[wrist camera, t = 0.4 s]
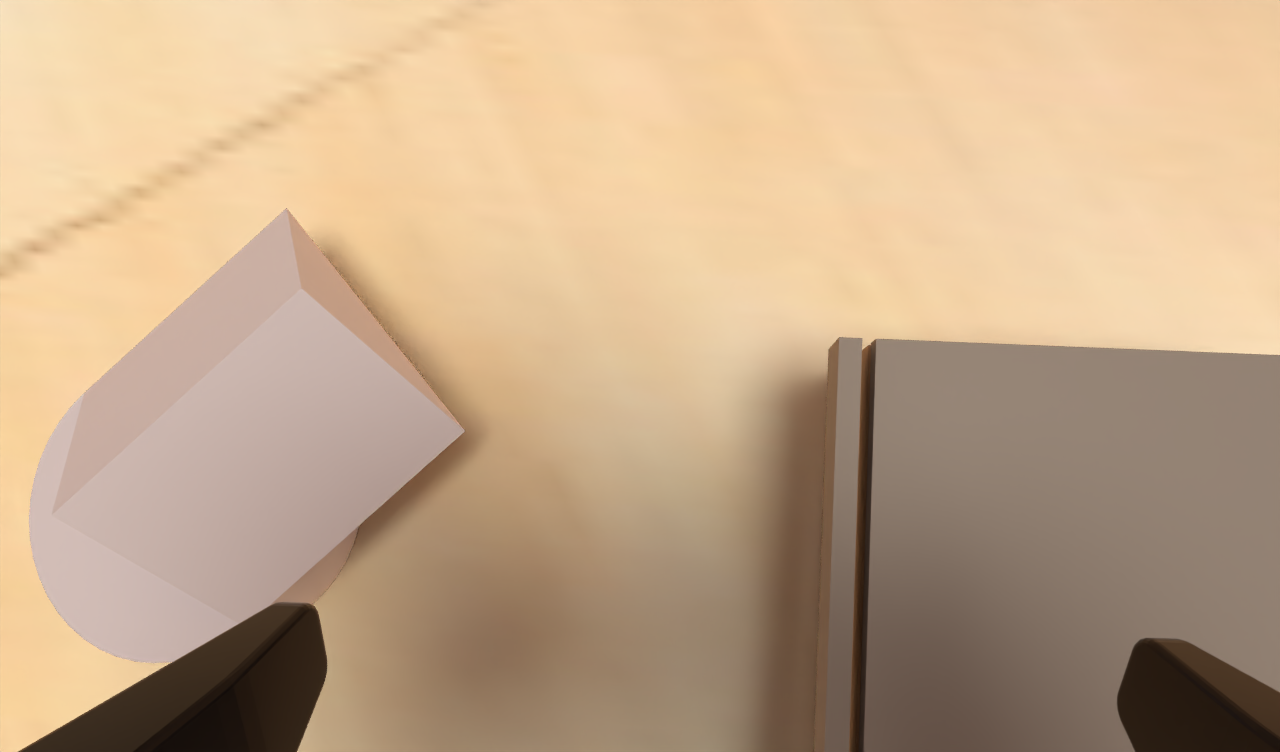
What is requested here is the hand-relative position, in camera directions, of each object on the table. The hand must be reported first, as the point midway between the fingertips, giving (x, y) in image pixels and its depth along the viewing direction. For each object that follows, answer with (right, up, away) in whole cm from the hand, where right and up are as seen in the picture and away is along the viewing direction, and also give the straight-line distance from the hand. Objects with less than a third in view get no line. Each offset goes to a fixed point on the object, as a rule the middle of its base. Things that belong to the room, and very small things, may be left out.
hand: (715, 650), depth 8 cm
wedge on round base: (-13, 0, +16) cm, 21 cm away
